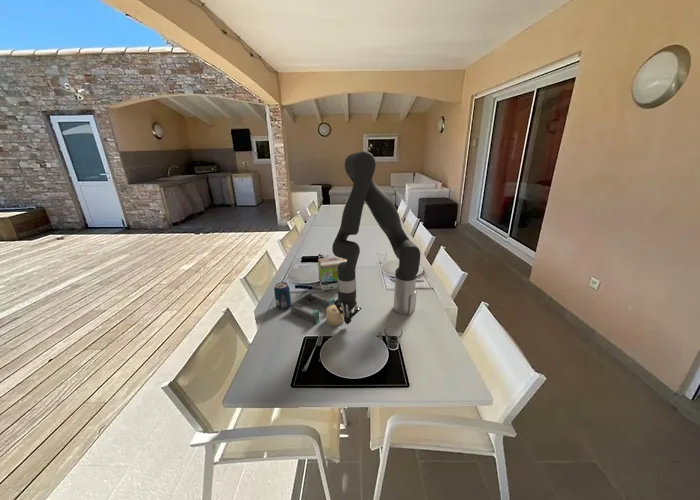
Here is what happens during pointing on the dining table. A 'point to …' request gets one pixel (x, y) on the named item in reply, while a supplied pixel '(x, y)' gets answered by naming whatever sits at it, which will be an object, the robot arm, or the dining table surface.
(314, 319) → the holder
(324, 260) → the tea box
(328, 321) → the beige round fruit
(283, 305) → the soda can
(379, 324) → the dining table surface
